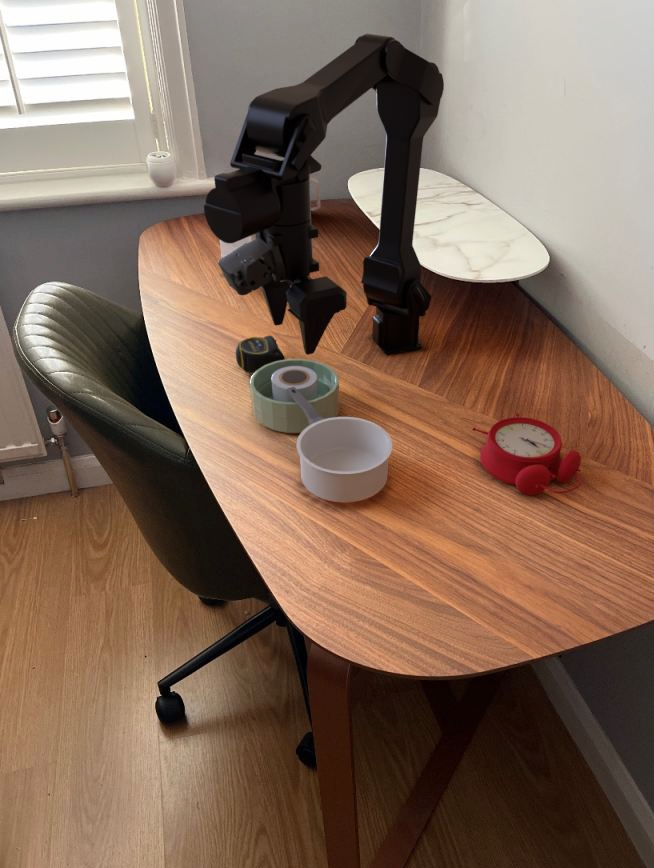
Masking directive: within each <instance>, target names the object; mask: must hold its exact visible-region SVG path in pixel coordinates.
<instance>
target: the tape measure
mask: <svg viewBox="0 0 654 868" xmlns="http://www.w3.org/2000/svg"><path fill="white" fill-rule="evenodd" d="M235 359H236V363H237V365H238V367H239V368H240V369H241V370H242V371H244V372H246V373H249V374H254V373H255V372H256V370H258V369H260V368H261V367H263V366H264V365H267V364H269V363H272V362H275V361H280V360H286V358H285V356H284V353H283V352H282V351H281V349H280V348H279V346H278V343H277V339H275V337H274V336H272V335H265V336H263V337H261V336H252V337H248V338H244V339H243V340H241V341H240V342H239V343H238V344H237V346H236V349H235Z"/></svg>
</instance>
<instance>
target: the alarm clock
mask: <svg viewBox="0 0 654 868" xmlns="http://www.w3.org/2000/svg"><path fill="white" fill-rule="evenodd" d="M472 431H473V432H475V431H476V432H479V433H480V434H483V435H486V436H487V439H486V443H485V444H484V445H483V446H482V448H481V450H480V455H479V460H480V464H481V466H482V467H483V469H484V470H485V471H486V472H487V473H488V474H489V475H490V476H492V477H494V478H495V479H497V480H499V481H501V482H503V483H505V484H510V485H513V486H515V487H516V489H517V491H518V492H519V493H521V494H522V495H526V496H535V495H538V494H541V493H543V492H544V491H548V492H550V493H553V494H566V493H569V492H572V491H574V490H577V489H578V488H579V487H581V486H582V484H583V480H582V477H581V476H580V475H579V473H581V472H582V470H581V469H580V466H581V462H582V457H581V454H580V453H579V452H578V451H577V450H575V449H571V450H570V451H568V453H567V454H566V455H565V456H564V457H563V458H562V457H561V451H562V447H563V442H562V437H561V435H560V433H559V432H558V431H557V430H556V428H554V427H553V426H551V425H550V424H548V423H546V422H544V421H541V420H539V419H534V418H531V417H524V416H520V413H518V412H517V413H515V416H514V417H507V418H504V419H501V420H499V421H497V422H495V423H494V424H493V425H492V426H491V427H490V429H489V431H488V432H487V431H484V430H481V429H477V428H476V427H473V428H472ZM575 476H576V477H577V478H578V479H579V483H578V484H577V485H576V486H573V487H572V488H569V489H565V490H553V489H550V488H548V486H549V484H550V483H551V482H552V481H554V480H557V481H558V482H559V483H563V484H565V483H568V482H571V480H573V479H574V478H575Z"/></svg>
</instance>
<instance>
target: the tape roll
mask: <svg viewBox="0 0 654 868" xmlns="http://www.w3.org/2000/svg"><path fill="white" fill-rule="evenodd" d="M271 380H272V393H273V400H276V401H282V402H295V401H294V400H293V398H292V397H291V396H290V395H289V394H288V393H287V388H291V387H295V388H296V389H297V390H298V391H299V392H300V393H301V394H302V396H303V397H304V398H305V399H306V400H307V401H309V400H314V399H316V398H318V387H317V375H316V373H315V372H314V371H313V370H311V369H309V368H306V367H301V366H289V367H284V368H281V369H279V370H277V371H276V372H274V373H273V375H272V377H271Z"/></svg>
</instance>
